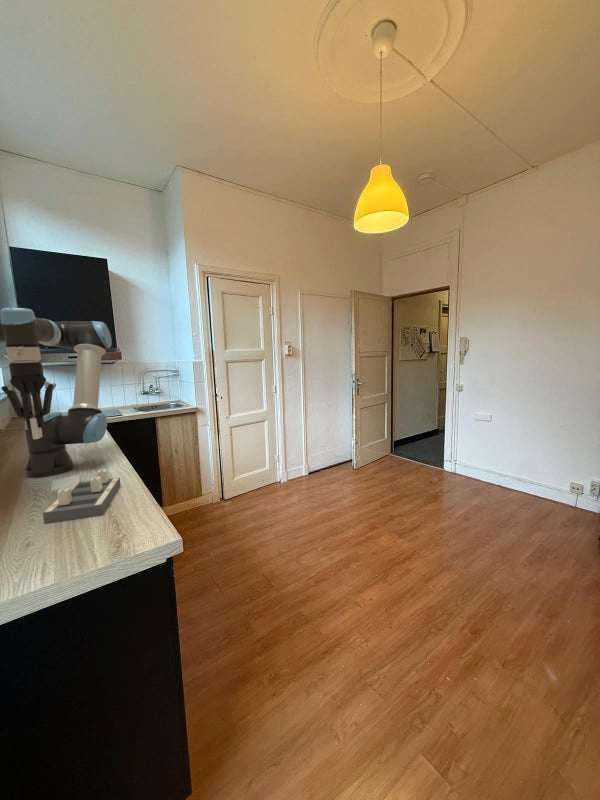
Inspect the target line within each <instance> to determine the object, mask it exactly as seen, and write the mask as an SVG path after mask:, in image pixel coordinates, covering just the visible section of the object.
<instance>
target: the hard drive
mask: <svg viewBox="0 0 600 800" xmlns="http://www.w3.org/2000/svg"><path fill="white" fill-rule="evenodd" d="M51 482H52V483H51V489H50V494H51V493H55V494H57V492H58V491H59V490H60V489H63V488H64V487H67V488H69V487H70V486H71V485H72V484H73V483H78V482H81V476H80V475H79V474H76V475H73V476H71V475H70V476H67V477H63V478H62V477H61V478H57V479H53V480H52V481H51Z"/></svg>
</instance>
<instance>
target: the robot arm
mask: <svg viewBox="0 0 600 800" xmlns="http://www.w3.org/2000/svg"><path fill="white" fill-rule="evenodd" d="M112 340H113V339H112V335H111V332H110V330H109V328H108V326H107V324H106V323H105V322H103V321H96V320H95V321H94V320H92V321H86V320H85V321H83V320H82V321H80V320H77V321H76V320H75V321H73V320H71V321H70V320H68V321H66V320H65V321H63V320H61V321H52V320H50V319H46V318H44V317H42V318H39V317H36V316H35V312H34V310H32V309H30V308H26V307H25V308H24V307H3V308H1V309H0V343H5V347H6V348H5V349H6V355H7V360H8V361H9V362H10V363H9V364H8V368H9V373H10V380H9V383H8V384H6V385H3V386H1V388H0V389H1V390H2V391H3V393H4V394H6V395H7V399H8V401H10V404H11V406H12V408H13V410H14V412H15V414H16V416H17V417H19V418H24V419H25V420H24V431H25V437H26V444H27V449H28V450H27V451H28V458H27V462H26V466H25V470H24V472H25V476H26V477H28V478H44V477H51V476H55V475H59V474H62V473H66V472H68V471H69V470H72V469H73V468H74V462H73V460H72V458H71V456H70V454H69V452H68V450H67V448H66V447H67V446H66V445H76V444H77V445H78V444H79V445H80V444H87V445H88V444H93V443H98V442H100V441H101V440H103V439H104V437H105V435H106V433H107V428H108V422H107V420H108V419H107V416H106V415H105V414H104V413H102V412H103V410H101V409H100V408H99V396H100V383H101V382H100V381H101V380H100V379H101V369H102V368H101V367H102V366H101V365H102V356H104V355H105V354H106V352H107V351H106V350H107V349H109V348H111V347H112V345H113V344H112V343H113V341H112ZM40 344H41V345H42V346H45V347H46V346H47V347H57V348H62V349H63V348H64V349H73V350H74V352H76V353H77V359H76V368H75V369H76V370H75V382H74V391H73V393H74V394H73V405H72V407H70V408H68V409H67V415H63V414H62V411H56V412H51V408H52V407H51V406H52V399H53V392H54V390H55V388H56V387H57V384H56V383H51V382H49V381H48V380H47V378H46V377H45V376H44V368H43V363H42V362H41V360H42V356H41V351H40V350H41V348H40ZM43 387H44V388H45V391H44V397H43V402H42V397H41V393H42V392H41V390H42V389H43ZM15 389H16V390H18V391H19V396H20V397H21V400H20V397H18V395H17V392H16V391H15ZM21 402H22V403H21ZM42 403H43V404H42ZM32 404H33V405H32ZM33 410H34V411H33Z"/></svg>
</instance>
